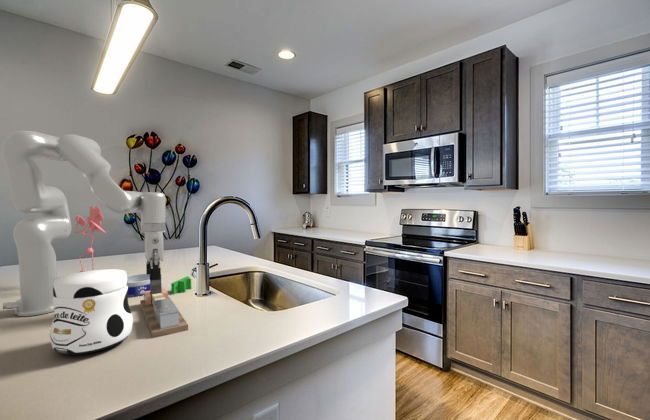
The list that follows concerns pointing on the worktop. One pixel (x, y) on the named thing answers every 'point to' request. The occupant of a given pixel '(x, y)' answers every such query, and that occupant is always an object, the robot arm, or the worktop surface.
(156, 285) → the bar
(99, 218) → the figurine
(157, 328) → the board
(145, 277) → the dog bowl
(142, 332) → the worktop surface
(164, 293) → the socket
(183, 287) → the pipe clamp
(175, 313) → the grey concrete brick
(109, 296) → the milk container
